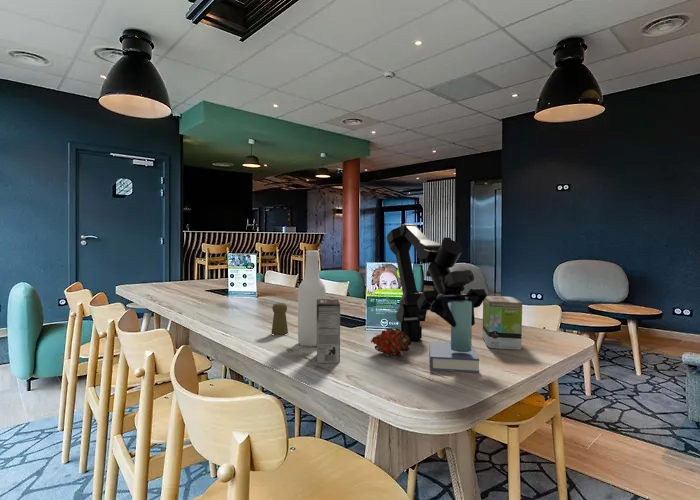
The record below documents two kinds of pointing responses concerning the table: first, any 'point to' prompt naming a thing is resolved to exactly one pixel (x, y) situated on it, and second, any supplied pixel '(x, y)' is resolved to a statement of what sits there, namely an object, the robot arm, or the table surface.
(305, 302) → the alcohol
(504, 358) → the table surface
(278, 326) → the cork
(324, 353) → the coffee box
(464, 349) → the teal smooth upright cylinder
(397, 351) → the dragon fruit
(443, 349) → the book
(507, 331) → the tea box
